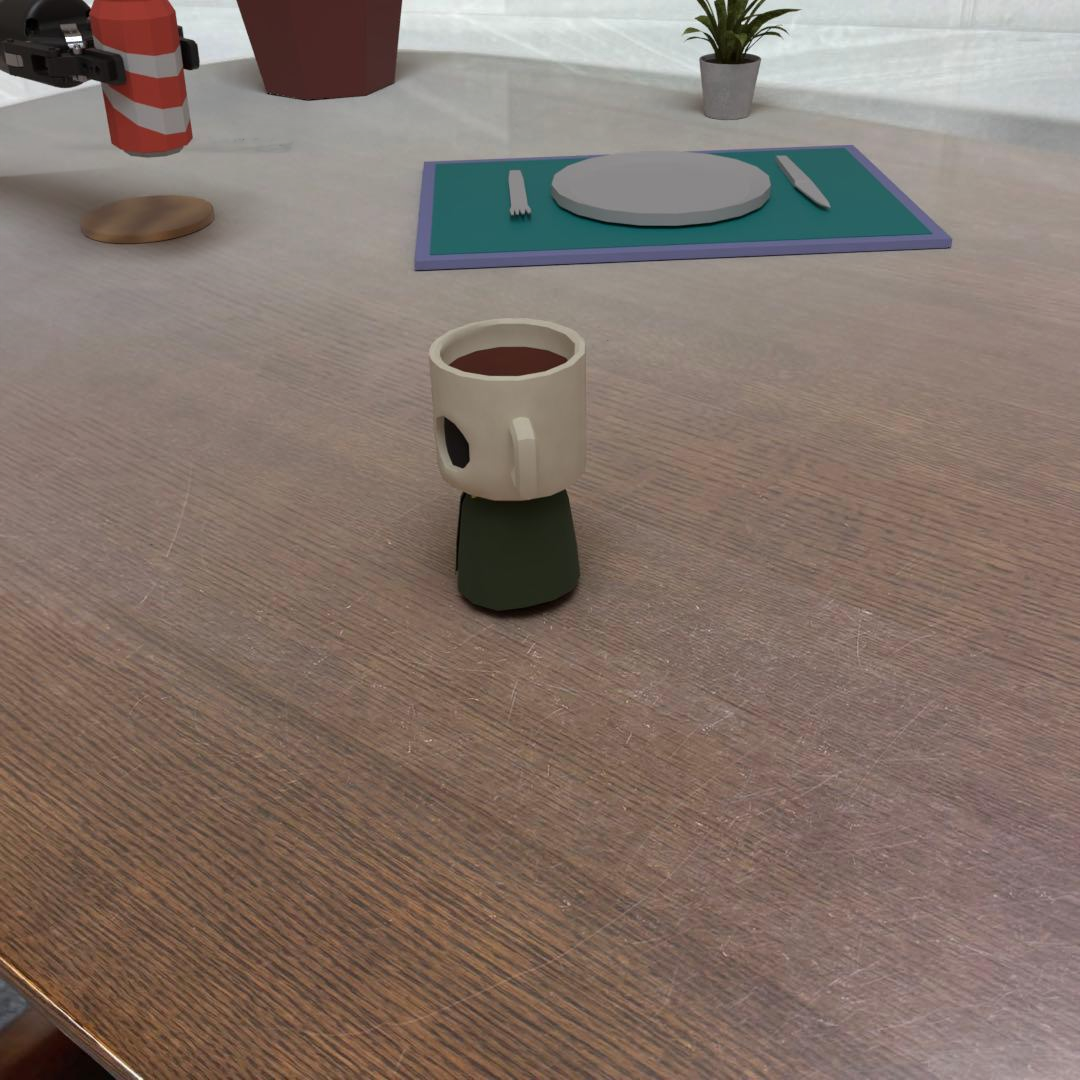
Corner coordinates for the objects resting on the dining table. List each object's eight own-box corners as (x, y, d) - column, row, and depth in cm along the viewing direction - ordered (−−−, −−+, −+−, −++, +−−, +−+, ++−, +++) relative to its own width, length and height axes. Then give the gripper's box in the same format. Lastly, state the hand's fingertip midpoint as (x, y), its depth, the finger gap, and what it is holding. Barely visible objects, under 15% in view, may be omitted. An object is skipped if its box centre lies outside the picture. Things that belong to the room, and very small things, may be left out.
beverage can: (168, 163, 95) (143, -1, 88) (98, 155, 96) (68, -7, 90) (207, 143, 100) (187, -14, 93) (140, 136, 101) (115, -20, 95)
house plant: (697, 137, 133) (705, -24, 124) (638, 111, 144) (641, -39, 135) (805, 121, 138) (820, -35, 129) (740, 97, 148) (750, -49, 140)
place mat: (415, 270, 100) (413, 243, 98) (424, 168, 125) (422, 146, 124) (951, 247, 101) (955, 220, 100) (851, 152, 127) (854, 129, 125)
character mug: (438, 535, 65) (418, 308, 58) (567, 522, 66) (564, 296, 59) (458, 659, 56) (438, 407, 49) (609, 641, 57) (610, 391, 50)
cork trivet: (76, 249, 106) (74, 240, 106) (87, 209, 116) (86, 201, 116) (214, 236, 108) (213, 227, 108) (214, 198, 118) (213, 190, 118)
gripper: (113, 65, 108) (237, 96, 100) (-35, 95, 99) (88, 131, 90) (98, -26, 104) (225, -2, 96) (-59, -4, 94) (68, 25, 86)
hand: (158, 63), depth 93 cm, fingers closed on beverage can, 6 cm apart
